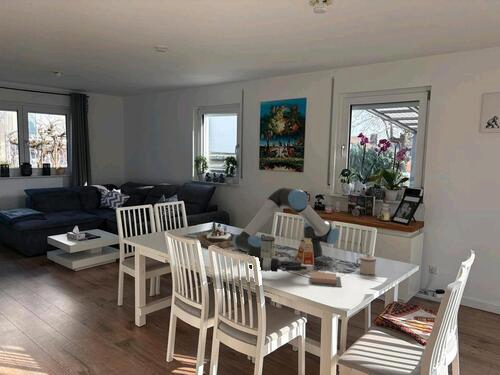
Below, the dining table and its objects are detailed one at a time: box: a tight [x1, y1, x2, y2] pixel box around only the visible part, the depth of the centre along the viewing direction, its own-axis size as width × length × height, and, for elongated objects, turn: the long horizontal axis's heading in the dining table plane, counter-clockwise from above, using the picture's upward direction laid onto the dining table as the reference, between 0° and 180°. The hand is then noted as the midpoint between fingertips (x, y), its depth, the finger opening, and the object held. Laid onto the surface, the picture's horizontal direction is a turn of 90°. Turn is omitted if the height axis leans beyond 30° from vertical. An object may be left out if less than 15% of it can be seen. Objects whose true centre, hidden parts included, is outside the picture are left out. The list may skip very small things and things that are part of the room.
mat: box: [311, 276, 342, 288], centre depth 211 cm, size 16×15×1 cm
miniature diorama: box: [205, 220, 232, 243], centre depth 290 cm, size 20×20×17 cm
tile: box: [310, 271, 337, 284], centre depth 211 cm, size 3×10×14 cm
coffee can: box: [259, 235, 276, 259], centre depth 251 cm, size 10×10×14 cm
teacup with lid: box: [356, 253, 377, 275], centre depth 228 cm, size 12×9×12 cm
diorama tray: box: [196, 231, 236, 249], centre depth 291 cm, size 28×28×4 cm
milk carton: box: [295, 236, 315, 272], centre depth 232 cm, size 9×9×20 cm
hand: (312, 267), depth 211 cm, fingers closed
